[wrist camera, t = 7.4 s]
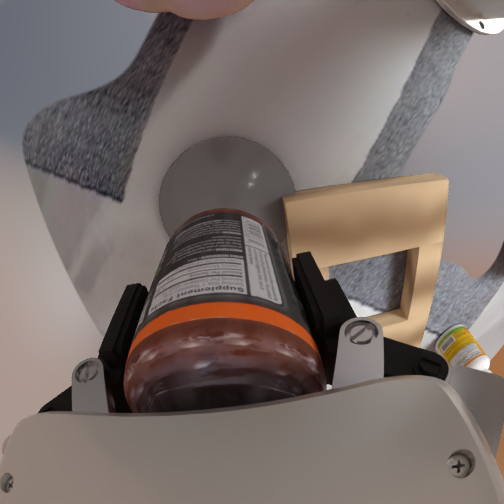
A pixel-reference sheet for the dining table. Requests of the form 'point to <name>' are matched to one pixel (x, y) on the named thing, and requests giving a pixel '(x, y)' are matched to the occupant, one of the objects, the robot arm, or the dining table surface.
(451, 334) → the supplement bottle
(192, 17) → the decorative fruit
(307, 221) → the holder board
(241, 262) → the supplement bottle
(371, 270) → the dining table surface
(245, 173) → the slate coaster
